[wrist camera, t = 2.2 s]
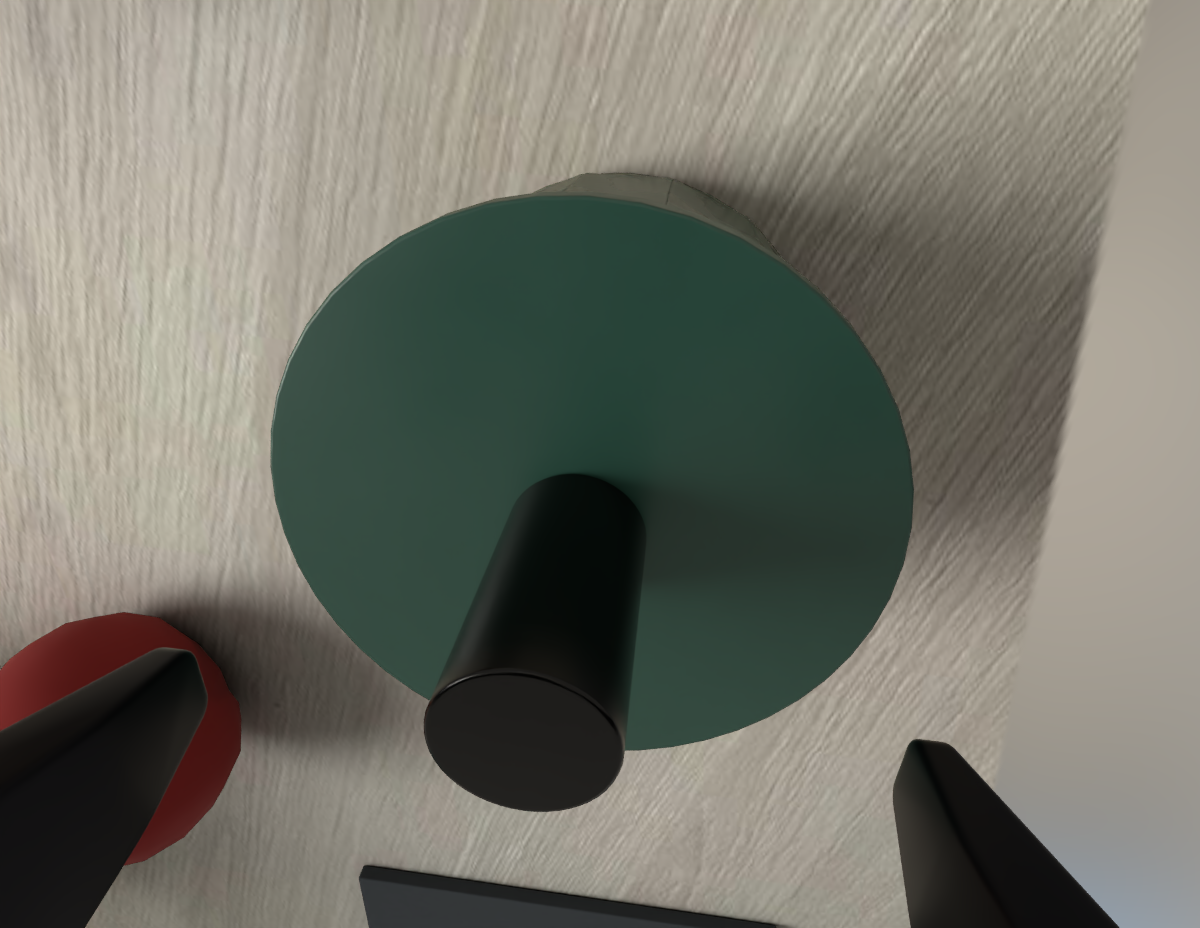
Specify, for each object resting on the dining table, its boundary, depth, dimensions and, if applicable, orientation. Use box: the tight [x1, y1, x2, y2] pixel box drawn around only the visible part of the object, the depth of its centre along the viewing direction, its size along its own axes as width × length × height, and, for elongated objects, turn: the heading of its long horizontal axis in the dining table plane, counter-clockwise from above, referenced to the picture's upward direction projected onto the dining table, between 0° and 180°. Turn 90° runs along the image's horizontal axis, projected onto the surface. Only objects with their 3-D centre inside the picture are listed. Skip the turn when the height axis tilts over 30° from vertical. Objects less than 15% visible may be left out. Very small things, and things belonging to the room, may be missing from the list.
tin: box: [534, 173, 780, 257], centre depth 16 cm, size 10×10×7 cm
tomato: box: [0, 612, 241, 865], centre depth 23 cm, size 8×8×7 cm
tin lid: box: [271, 191, 914, 812], centre depth 11 cm, size 11×11×6 cm
